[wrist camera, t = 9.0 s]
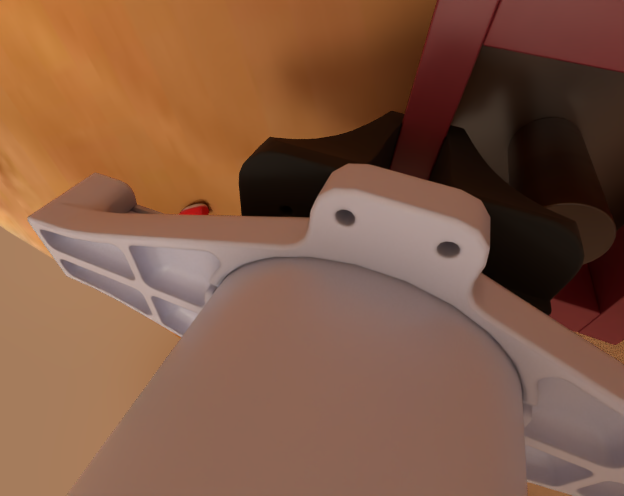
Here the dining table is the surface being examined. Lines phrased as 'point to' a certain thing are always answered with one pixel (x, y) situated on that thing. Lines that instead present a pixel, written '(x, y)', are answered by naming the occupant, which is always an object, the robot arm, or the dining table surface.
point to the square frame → (533, 41)
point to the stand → (552, 136)
